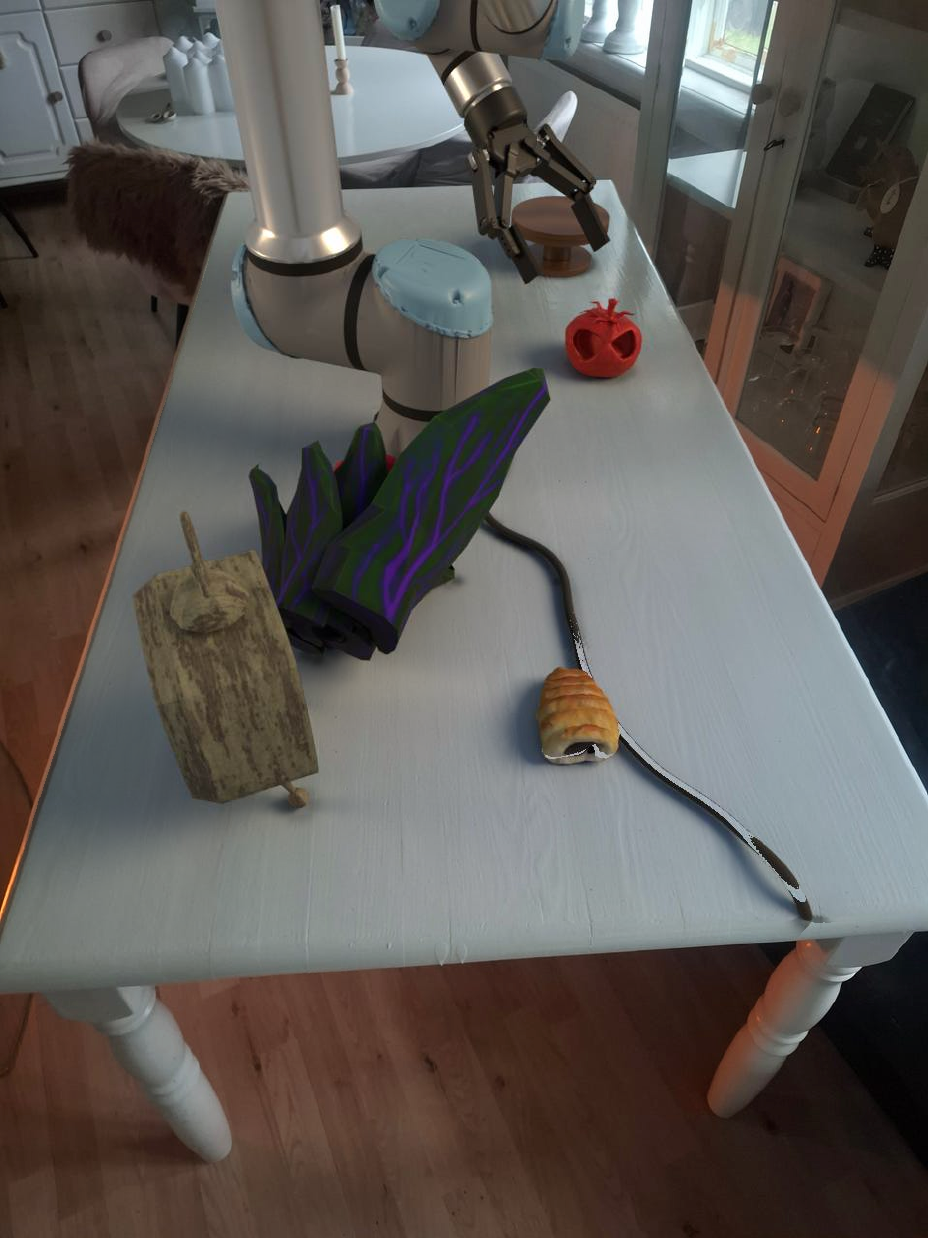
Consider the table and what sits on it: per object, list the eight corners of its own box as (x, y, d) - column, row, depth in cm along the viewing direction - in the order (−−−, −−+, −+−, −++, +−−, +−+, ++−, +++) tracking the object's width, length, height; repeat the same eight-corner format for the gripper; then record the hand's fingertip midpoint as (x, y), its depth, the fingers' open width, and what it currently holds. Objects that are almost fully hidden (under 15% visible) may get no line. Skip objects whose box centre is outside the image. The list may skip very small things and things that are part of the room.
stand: (614, 280, 133) (621, 232, 127) (518, 285, 131) (521, 236, 126) (591, 239, 143) (596, 193, 138) (501, 244, 141) (504, 197, 136)
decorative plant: (287, 695, 87) (393, 469, 101) (507, 718, 73) (596, 451, 86) (141, 577, 73) (287, 331, 86) (379, 576, 58) (510, 281, 72)
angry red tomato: (563, 344, 119) (569, 278, 112) (636, 349, 118) (647, 283, 111) (560, 382, 112) (567, 315, 105) (638, 388, 111) (650, 320, 104)
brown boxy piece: (328, 816, 67) (283, 586, 49) (212, 856, 65) (120, 629, 47) (283, 683, 77) (231, 448, 58) (179, 713, 74) (92, 478, 56)
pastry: (526, 681, 77) (530, 653, 74) (601, 677, 77) (607, 649, 75) (542, 770, 71) (546, 742, 68) (623, 765, 71) (630, 737, 68)
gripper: (536, 101, 116) (610, 247, 119) (399, 144, 103) (485, 306, 107) (571, 63, 109) (647, 219, 113) (428, 105, 97) (519, 279, 100)
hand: (569, 262), depth 110 cm, fingers open, 13 cm apart
